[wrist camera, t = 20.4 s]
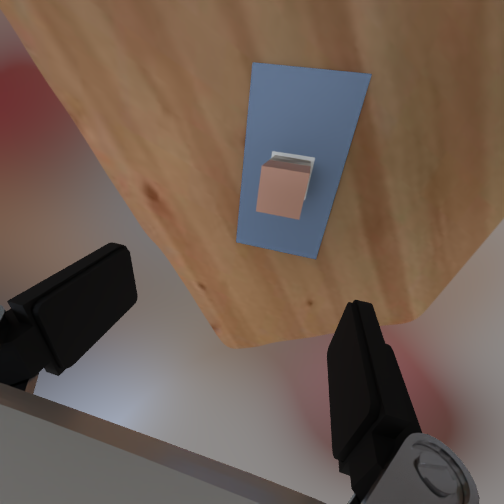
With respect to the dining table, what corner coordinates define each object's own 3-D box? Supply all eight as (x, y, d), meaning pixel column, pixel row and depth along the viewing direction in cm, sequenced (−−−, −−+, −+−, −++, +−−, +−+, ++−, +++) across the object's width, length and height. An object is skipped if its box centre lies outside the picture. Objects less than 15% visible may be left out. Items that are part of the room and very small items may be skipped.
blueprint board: (370, 75, 27) (371, 73, 26) (315, 257, 39) (315, 259, 39) (253, 63, 29) (252, 62, 28) (237, 240, 41) (236, 242, 41)
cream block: (310, 160, 32) (310, 166, 27) (302, 196, 34) (300, 206, 30) (275, 155, 32) (269, 159, 28) (269, 190, 35) (263, 199, 31)
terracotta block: (310, 166, 27) (310, 173, 23) (301, 206, 30) (299, 219, 26) (269, 159, 28) (261, 165, 24) (263, 199, 31) (255, 211, 26)
